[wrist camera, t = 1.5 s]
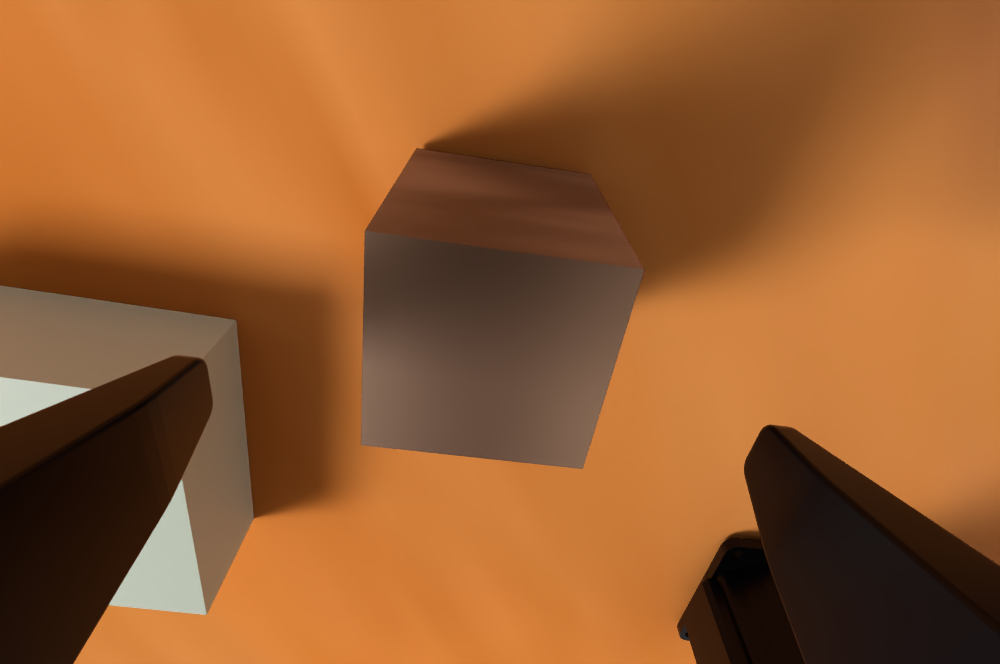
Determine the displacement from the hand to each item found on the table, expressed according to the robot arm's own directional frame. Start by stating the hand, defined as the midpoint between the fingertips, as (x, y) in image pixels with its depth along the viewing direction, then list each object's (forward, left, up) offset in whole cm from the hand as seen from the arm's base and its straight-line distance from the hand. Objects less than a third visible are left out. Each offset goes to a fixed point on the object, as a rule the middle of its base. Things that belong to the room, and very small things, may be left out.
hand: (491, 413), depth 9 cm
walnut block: (0, 0, -7) cm, 7 cm away
